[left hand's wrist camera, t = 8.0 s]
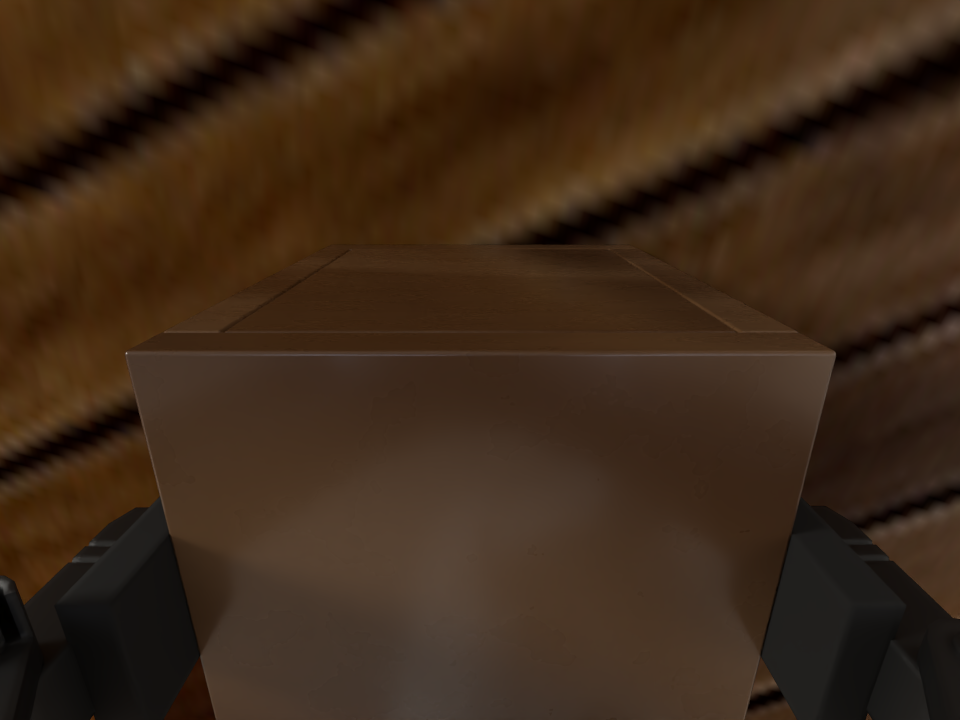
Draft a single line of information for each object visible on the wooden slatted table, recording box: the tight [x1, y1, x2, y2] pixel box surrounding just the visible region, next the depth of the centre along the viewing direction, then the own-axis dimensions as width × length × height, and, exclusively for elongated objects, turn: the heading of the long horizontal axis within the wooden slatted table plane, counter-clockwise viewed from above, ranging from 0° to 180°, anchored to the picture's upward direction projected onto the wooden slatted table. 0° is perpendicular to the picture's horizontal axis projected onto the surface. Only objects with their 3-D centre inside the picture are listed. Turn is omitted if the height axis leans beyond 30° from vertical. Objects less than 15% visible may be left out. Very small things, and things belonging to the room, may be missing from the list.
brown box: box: [125, 245, 836, 720], centre depth 16 cm, size 18×10×11 cm, turn 0°
